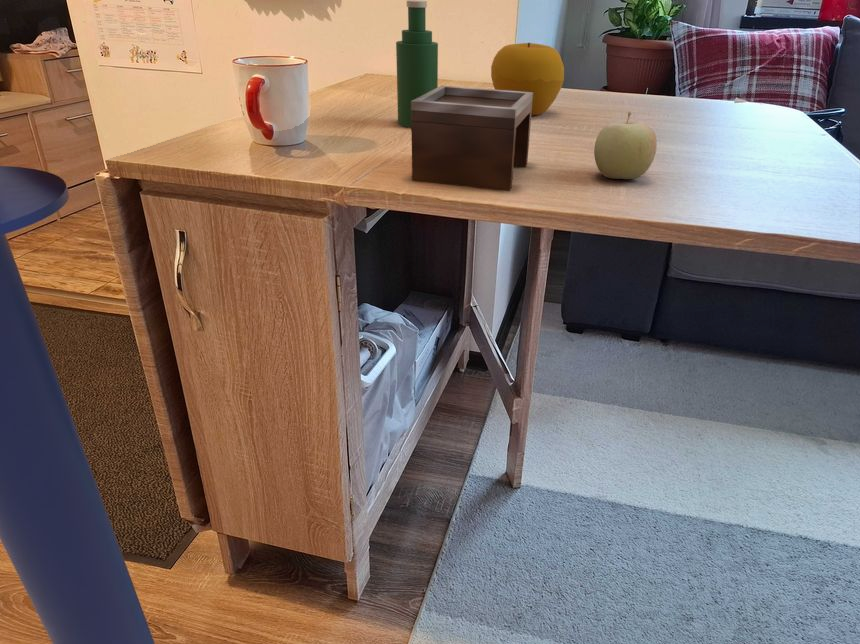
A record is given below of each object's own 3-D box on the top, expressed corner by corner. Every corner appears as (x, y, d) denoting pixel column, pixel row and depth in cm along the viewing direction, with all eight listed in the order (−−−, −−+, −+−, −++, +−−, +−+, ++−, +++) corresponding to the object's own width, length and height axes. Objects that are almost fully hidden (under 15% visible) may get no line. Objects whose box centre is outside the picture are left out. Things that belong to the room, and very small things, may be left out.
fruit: (646, 189, 75) (659, 119, 71) (585, 181, 78) (594, 113, 74) (654, 173, 82) (666, 108, 77) (597, 166, 84) (606, 102, 80)
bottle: (389, 123, 103) (386, -1, 94) (418, 118, 107) (417, -1, 98) (417, 130, 99) (416, 2, 90) (445, 124, 103) (447, 1, 94)
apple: (485, 117, 109) (488, 44, 103) (492, 103, 120) (496, 37, 114) (560, 121, 108) (567, 48, 102) (560, 107, 119) (567, 40, 113)
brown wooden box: (411, 180, 76) (410, 100, 71) (440, 156, 86) (440, 85, 81) (510, 190, 73) (515, 109, 69) (527, 164, 83) (533, 92, 79)
